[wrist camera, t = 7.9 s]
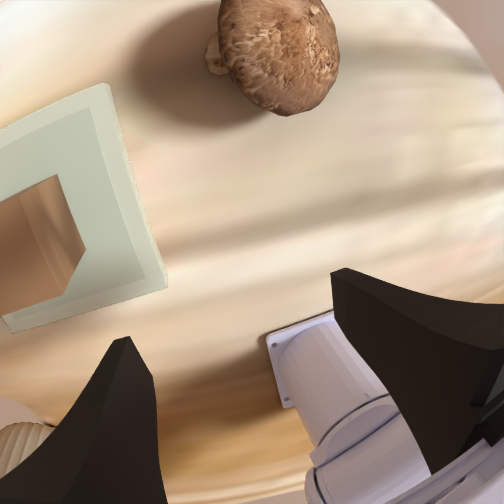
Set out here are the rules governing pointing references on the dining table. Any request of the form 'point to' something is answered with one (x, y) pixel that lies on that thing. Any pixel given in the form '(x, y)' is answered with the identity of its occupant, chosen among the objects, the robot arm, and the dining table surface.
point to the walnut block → (36, 246)
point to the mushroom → (276, 52)
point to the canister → (20, 443)
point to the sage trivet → (85, 202)
